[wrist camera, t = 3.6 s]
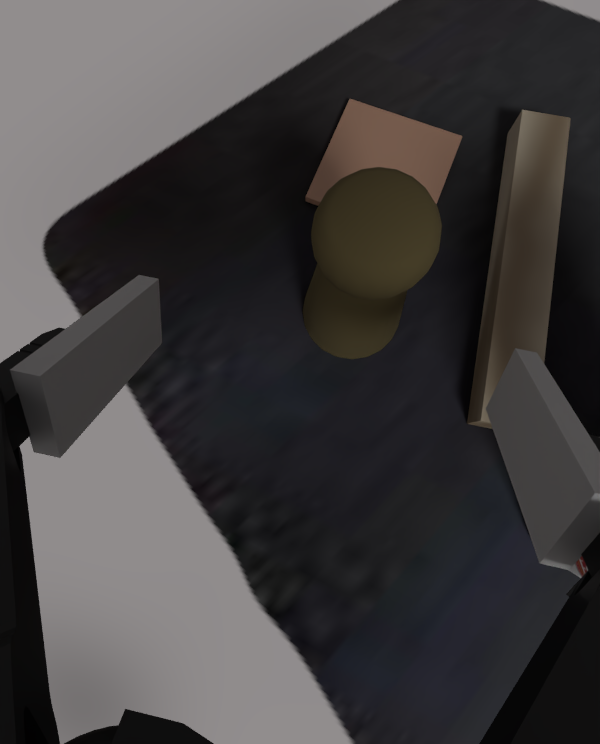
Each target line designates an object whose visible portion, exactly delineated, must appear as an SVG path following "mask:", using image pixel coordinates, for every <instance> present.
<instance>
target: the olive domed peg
mask: <svg viewBox="0 0 600 744" xmlns="http://www.w3.org/2000/svg"><path fill="white" fill-rule="evenodd" d="M441 229H442V223H441V219H440V214H439V210H438V207H437V205H436V203H435V202H434V200H433V199H432V197H431V195H430V194H429V192H428V191H427V189H426V188H425V187H424V186H423V185H422V184H421V183H420V182H418V181H417V180H416V179H415V178H414V177H413V176H410V175H408V174H406V173H404V172H401V171H399V170H397V169H391V168H384V167H374V168H367V169H361V170H359V171H357V172H354V173H352V174H350V175H348V176H345V177H343V178H341V179H340V180H339V181H338V182H337V183H335V184H334V185H333V186H332V187H331V188H330V189H329V190H328V191H327V192H326V194H325V195H324V197H323V199H322V201H321V202H320V204H319V206H318V208H317V210H316V212H315V214H314V219H313V225H312V230H311V241H312V247H313V253H314V258H315V259H316V261H317V266H316V269H315V271H314V274H313V277H312V280H311V282H310V285H309V288H308V291H307V293H306V296H305V301H304V306H303V318H304V324H305V327H306V329H307V331H308V333H309V335H310V337H311V339H312V340H313V341H314V342H315V343H316V344H317V345H318V346H319V347H320V348H321V349H322V350H324V351H326V352H328V353H330V354H332V355H334V356H336V357H342V358H348V359H356V358H363V357H368V356H370V355H372V354H374V353H376V352H378V351H380V350H381V349H382V348H383V347H384V346H386V345H387V344H388V343H389V342H390V341H391V340H392V338H393V336H394V334H395V332H396V330H397V328H398V325H399V321H400V317H401V313H402V309H403V305H404V301H405V298H406V294H407V290H408V289H410V288H412V287H413V286H414V285H415V284H416V283H417V282H418V281H419V280H420V279H421V278H422V277H423V276H424V275H426V273H427V272H428V270H429V269H430V268H431V266H432V264H433V262H434V260H435V258H436V256H437V254H438V252H439V246H440V238H441Z"/></svg>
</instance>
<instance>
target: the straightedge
mask: <svg viewBox="0 0 600 744" xmlns="http://www.w3.org/2000/svg"><path fill="white" fill-rule="evenodd" d="M569 127H570V118H568V117H562V116H556V115H550V114H544V113H539V112H533V111H527V110H522V111H521V113H520V114H519V116H518V118H517V119H516V121H515V122H514V124H513V126H512V127H511V129H510V130H509V132H508V134H507V141H506V148H505V155H504V162H503V170H502V177H501V184H500V191H499V198H498V205H497V213H496V220H495V227H494V234H493V241H492V248H491V256H490V263H489V270H488V277H487V284H486V291H485V299H484V306H483V313H482V320H481V327H480V334H479V342H478V349H477V356H476V363H475V370H474V377H473V385H472V392H471V399H470V406H469V413H468V420H467V424H471V425H476V426H481V427H486V428H490V429H493V428H492V425H491V422H490V420H489V417H488V414H487V411H486V407H487V405H488V403H489V401H490V399H491V397H492V395H493V393H494V390H495V388H496V386H497V384H498V382H499V380H500V378H501V376H502V374H503V372H504V370H505V368H506V366H507V364H508V362H509V360H510V358H511V356H512V354H513V352H514V350H515V348H517V349H522V350H527V351H532V352H537V353H538V355H539V356H540V358H541V360H542V361H543V363H544V360H545V351H546V342H547V332H548V323H549V314H550V304H551V295H552V286H553V276H554V267H555V258H556V248H557V239H558V230H559V220H560V211H561V202H562V192H563V183H564V174H565V164H566V155H567V146H568V136H569Z"/></svg>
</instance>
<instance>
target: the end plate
mask: <svg viewBox="0 0 600 744" xmlns="http://www.w3.org/2000/svg"><path fill="white" fill-rule="evenodd" d="M461 139H462V136H460V135H457V134H454V133H451V132H448V131H445V130H442V129H439V128H436V127H433V126H430V125H427V124H424V123H421V122H418V121H415V120H412V119H409V118H406V117H403V116H400V115H397V114H394V113H391V112H388V111H385V110H382V109H379V108H376V107H373V106H370V105H367V104H364V103H361V102H358V101H355V100H352V99H349V101H348V104H347V106H346V108H345V110H344V112H343V115H342V117H341V119H340V121H339V124H338V126H337V128H336V130H335V132H334V135H333V137H332V139H331V141H330V144H329V146H328V148H327V150H326V152H325V155H324V157H323V159H322V161H321V163H320V166H319V168H318V170H317V172H316V175H315V177H314V179H313V181H312V183H311V186H310V188H309V190H308V192H307V195H306V197H305V201H306V202H309V203H311V204H314V205H317V206H319V204H320V202H321V201H322V199H323V197H324V195H325V194H326V192H327V191H328V190H329V189H330V188H331V187H332V186H333V185H334V184H335V183H337V182H338V181H339V180H340V179H341V178H343V177H345V176H348V175H350V174H352V173H354V172H357V171H359V170H361V169H367V168H374V167H384V168H391V169H397V170H399V171H401V172H404V173H406V174H408V175H410V176H413V177H414V178H415V179H416V180H417V181H418V182H420V183H421V184H422V185H423V186H424V187H425V188H426V189H427V191H428V192H429V194H430V195H431V197H432V199H433V200H434V202H435V203H436V204H437V202H438V199H439V196H440V194H441V191H442V189H443V186H444V183H445V181H446V178H447V175H448V173H449V170H450V168H451V165H452V162H453V160H454V157H455V155H456V152H457V149H458V147H459V144H460V142H461Z"/></svg>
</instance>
